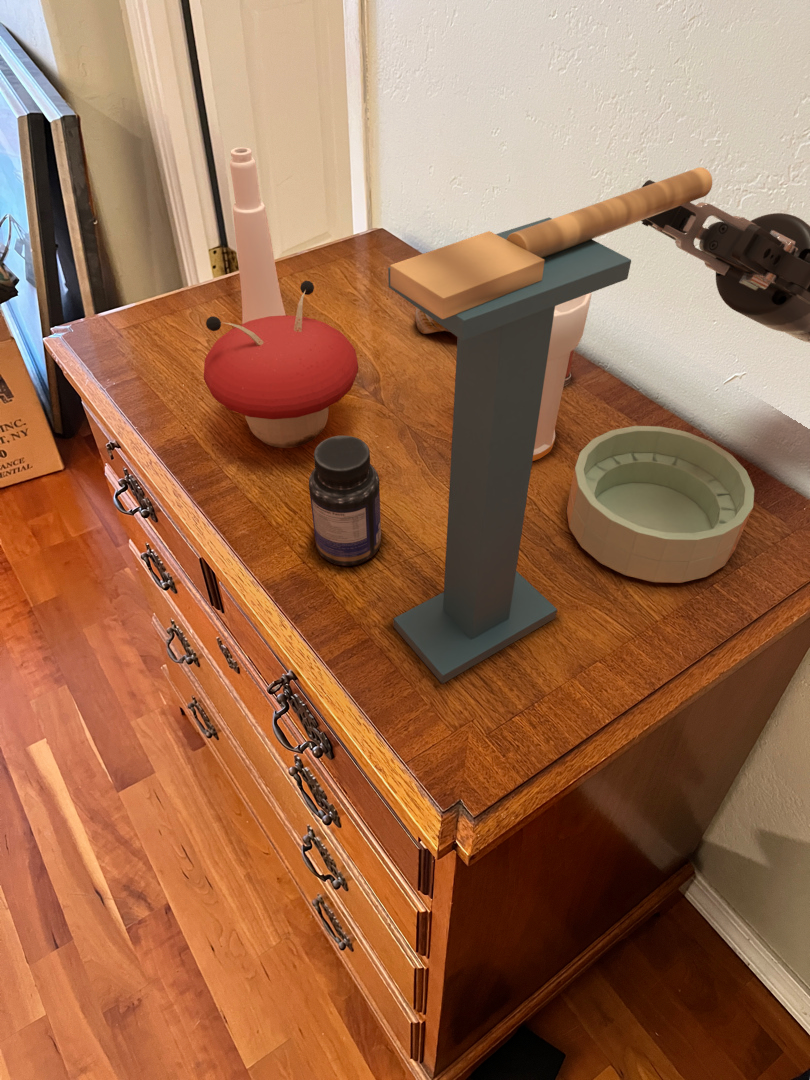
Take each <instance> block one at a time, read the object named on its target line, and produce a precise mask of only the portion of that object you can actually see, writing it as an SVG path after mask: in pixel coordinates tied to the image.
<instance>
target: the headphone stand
mask: <svg viewBox="0 0 810 1080" xmlns="http://www.w3.org/2000/svg"><path fill="white" fill-rule="evenodd" d="M551 219H553V218H552V217H546V218H543V219H540V220H536V221H533V222H530V223H527V224H524V225H521V226H517V227H514V228H511V229H508V230H505V231H501V232H498V233H495V234H496V235H498V236H500V237H502V238H504V239H507V237H508V236H509V235H510V234H511V233H514V232H517V231H520V230H522V229H525V228H528V227H531V226H534V225H537V224H539V223H542V222H545V221H548V220H551ZM542 259H544V260H545V261H544V269H543V277H542V280H541V281H539V282H536V283H534V284H531V285H529V286H526V287H524V288H521V289H519V290H516V291H514V292H511V293H509V294H506V295H504V296H501V297H498V298H496V299H493V300H491V301H488V302H486V303H483V304H481V305H478V306H476V307H473V308H471V309H468V310H466V311H463V312H461V313H458V314H455V315H453V316H450V317H448V318H445V319H441V318H439V317H438V316H436V315H435V314H433V313H432V312H430V311H429V310H427V309H426V308H424V307H422V306H421V305H419V304H418V303H416V302H415V301H413V300H412V299H410V298H409V297H407V296H406V295H404V294H402V293H401V292H399V291H398V290H396V289H395V288H393V287H392V286H391V285H390V266H389V267H388V268H387V271H388V272H387V273H388V274H387V275H388V277H387V278H388V281H387V283H388V288H389V289H390V290H392V291H393V292H395V294H397V295H399V296H400V297H401V298H403V299H404V300H406V301H407V302H408V303H409V304H411V305H412V306H414V307H415V308H416V309H417V308H418V309H420V310H421V311H422V312H424V313H425V314H426V315H428V316H429V317H431V318H432V319H433V320H435V321H436V322H437V323H439V324H440V325H442V326H443V327H444V328H446V329H447V330H449V331H450V332H449V333H451V334H452V335H454V336H455V337H457V339H456V340H457V341H456V356H455V357H456V359H455V378H454V397H453V413H452V414H453V415H452V430H451V431H452V432H451V450H450V452H451V454H450V467H449V469H450V471H449V489H448V490H449V492H448V508H447V525H446V542H445V543H446V544H445V545H446V546H445V560H444V561H445V563H444V565H445V566H444V583H443V591H442V592H441V593H439V594H437V595H435V596H433V597H431V598H429V599H428V600H426V601H424V602H422V603H420V604H418V605H415V606H414V607H412V608H410V609H408V610H407V611H405V612H403V613H401V614H399V615H397V616H395V617H394V618H393V628H394V629H395V630H396V632H397V633H398V634H399V635H400V637H402V639H403V640H404V641H405V642H406V643H407V645H408V646H409V647H410V648H411V649H412V650H413V652H414V653H415V655H417V656H418V658H419V659H420V660H421V661H422V662H423V663H424V665H425V666H426V667H427V669H429V671H430V672H431V673H432V674H433V676H435V677H436V679H437V680H438V681H439V683H440V684H441V685H443V684H445V683H447V682H449V681H450V680H452V679H454V678H455V677H457V676H458V675H461V674H462V673H464V672H465V671H467V670H469V669H471V668H472V667H474V666H476V665H478V664H480V663H482V662H483V661H484V660H486V659H488V658H490V657H492V656H494V655H495V654H497V653H498V652H500V651H502V650H504V649H505V648H507V647H508V646H510V645H512V644H513V643H515V642H517V641H519V640H521V639H522V638H524V637H525V636H527V635H529V634H531V633H533V632H534V631H536V630H539V628H542V627H543V626H544V625H546V624H548V623H550V622H552V621H554V620H555V619H557V618H556V617H557V612H558V608H557V607H556V606H555V605H553V603H551V602H550V601H549V600H548V599H547V598H546V597H545V596H544V595H543V594H542V593H541V592H540V591H538V589H536V588H535V587H534V586H533V585H532V584H531V583H530V582H529V581H528V580H527V579H526V578H525V577H523V575H521V573H520V572H519V571H517V567H518V561H519V556H520V555H519V554H520V547H521V542H522V541H521V540H522V534H523V527H524V521H525V514H526V507H527V501H528V493H529V486H530V479H531V474H532V473H531V472H532V467H533V466H532V465H533V461H532V460H533V453H534V446H535V440H536V433H537V426H538V419H539V412H540V406H541V399H542V392H543V385H544V378H545V372H546V365H547V358H548V351H549V344H550V338H551V331H552V324H553V317H554V311H555V306H557V305H559V304H562V303H565V302H567V301H570V300H573V299H575V298H578V297H581V296H583V295H586V294H589V293H594V292H597V291H599V290H603V289H605V288H607V287H610V286H613V285H615V284H618V283H621V282H624V281H627V280H628V278H629V273H630V269H631V264H632V259H631V258H629V257H627V256H625V255H623V254H621V253H620V252H617V251H615V250H614V249H612V248H610V247H608V246H606V245H604V244H602V243H600V242H598V241H596V240H594V239H591V240H588V241H586V242H583V243H580V244H578V245H575V246H572V247H570V248H567V249H564V250H562V251H559V252H557V253H554V254H551V255H549V256H546V257H543V258H542Z"/></svg>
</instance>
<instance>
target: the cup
mask: <svg viewBox="0 0 810 1080" xmlns="http://www.w3.org/2000/svg"><path fill="white" fill-rule="evenodd" d="M592 295H593V292H591V293H589V294H586V295H583V296H581V297H578V298H575V299H573V300H570V301H567V302H565V303H562V304H559V305H557V306H555V311H554V317H553V324H552V331H551V338H550V344H549V351H548V358H547V365H546V372H545V378H544V385H543V392H542V399H541V406H540V412H539V419H538V426H537V433H536V440H535V446H534V453H533V460H532V462H534V461H538V460H540V459H542V458H543V457H545V456H546V455H548V454H549V453H551V451H552V449H553V447H554V445H555V441H556V425H557V420H558V416H559V411H560V405H561V401H562V395H563V391H564V387H565V386H564V381H565V377H566V372H567V367H568V362H569V357H570V352H571V351H572V350H573V349H574V350H575V349H577V348H578V346H579V345H580V342H581V340H582V338H583V335H584V331H585V326H586V322H587V317H588V313H589V308H590V304H591V299H592ZM574 350H573V351H574Z"/></svg>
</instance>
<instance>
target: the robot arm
mask: <svg viewBox="0 0 810 1080" xmlns="http://www.w3.org/2000/svg"><path fill="white" fill-rule="evenodd" d="M656 182H657V181H653V180H651V179H648V180H646V181H645V182H644V183H643V184H642V186H641V187H640V188H642V187H644V186H647V185H650V184H653V183H656ZM709 217H713V218H716V219H717V220H719V221H716V222H713V223H711V224H710V225H709V226H708V227H706V226H704V224H705V222H706V221H707V219H708V218H709ZM640 222H641V225H643V226H645V227H651V228H653V229H654V230H655V231H657V232H658V233H661V234H663V235H664V236H666V237H668V238H669V239H672V240H673V241H674V243H675V246H676V247H677V248H678V249H680V250H681V251H683V252H686V253H687V254H689V255H691V256H693V257H695V258H697V259H699V260H701V261H703V262H704V265H705V267H707V268H708V269H710V270H712V271H714V272H715V284H716V289H717V292H718V294H719V296H720V298H721V300H722V301H723V302H724V303H725V304H726V305H727V306H728V307H729V308H730V309H731V310H733V311H734V312H737V313H739V314H741V315H742V316H745V317H747V318H748V319H750V320H752V321H754V322H756V323H758V324H760V325H762V326H764V327H766V328H768V329H771V330H774V331H776V332H783V333H785V334H788V335H789V336H791V337H793V338H794V339H797V340H800V341H802V342H805V343H808V344H810V225H809V224H808V223H807V222H806V221H805V220H803V219H802V218H800V217H798V216H796V215H793V214H789V213H785V212H775V213H767V214H763V215H761V216H758V217H756V218H755V217H754V218H753V219H752V220H749V219H747V218H745V217H743V216H738V215H731V214H730V213H728V212H726V211H724V210H722V209H721V208H718V207H716V206H715V205H713V204H711V203H708V202H698V203H697V204H694V203H692V202H689V203H686V204H683V205H681V206H678V207H675V208H673V209H670V210H668V211H665V212H662V213H660V214H657V215H654V216H652V217H649V218H646V219H644V220H641V221H640ZM695 240H698V241H699V244H698V246H699V248H697V247H696V246H695Z"/></svg>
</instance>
